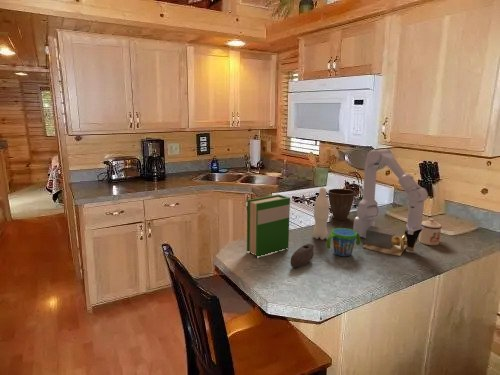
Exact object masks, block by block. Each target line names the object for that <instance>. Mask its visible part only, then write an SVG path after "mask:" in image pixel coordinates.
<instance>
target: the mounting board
mask: <svg viewBox="0 0 500 375" xmlns="http://www.w3.org/2000/svg"><path fill="white" fill-rule="evenodd" d="M406 246H407V245H405V248H404V250H403V249H401V245H400V246H396V245H393V247H392V248H391V249H390V250H389V249H385V248H380V247H376V246H371V245H367V244H364V245H363V246H362V248H363V249H367V250H371V251H375V252H379V253H380V252H381V253H384V254H389V255H393V256H396V257H397V256H398V257H400V256H402V254H403V253H404V252H405V250H406Z"/></svg>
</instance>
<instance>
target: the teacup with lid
mask: <svg viewBox="0 0 500 375" xmlns="http://www.w3.org/2000/svg"><path fill="white" fill-rule="evenodd" d="M421 226H423V227H424V229H422V231H421V232H420V233H419V236H418V241H419V243H421V244H424V245H427V246H437V245H439V244H440V238H441V231H442V228H443V227H442V224H440V223H439V222H437V221H435V219H434V218H429V220H422V225H421Z"/></svg>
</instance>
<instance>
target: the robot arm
mask: <svg viewBox="0 0 500 375" xmlns="http://www.w3.org/2000/svg"><path fill="white" fill-rule="evenodd" d="M366 156H367V157H366V160H365V163H364V171H363V172H364V173H363V188H362V190H363V192H362V199H361V200H360V202H358V204H357V208H356V217H354V220H353V228H352V230H354V231H355V232H357V233H358V234H359V236H360V238H365V239H366V231H367V229H368V228H369V227H370V226H374V227H375V221H376V220H375V219H376V216H378V215H379V206H378V205H379V204H378V201H376V200H375V199H376V198H375V197H376V183H377V182H376V181H377V169H378V168H379V167H380V166H386V167H388V168H389V170H391V172H392V173H393V174H394V175H395V176H396V178H398V184H399V185H400V187H402V190H404V191H405V193H406V194H407V195H406V198H407V200H408V211H407V212H408V213H407V220H406V224H405V226H406V228H407V229H406V230H404V235H406V241H407V244H408V247H411V248H413V247H414V244H415V241H416V242H417V241H418V239H419V235H420V232H421V231H422V229H424V227H423V226H421V225H422V222H423V217H424V216H423V215H424V208H425V207H424V206H425V201H427V199H428V198H429V193H428V190H427V189H426V188H425V187H422V186H421V185H420V184H418V183H417V181H416V180H415V179H414V178H415V177H414V176H413V175H411V174H408V173H406V172H405V171H404V170H403V168H402V166H401V165H400V164H399V162H398V161H397V160H396V157H395V154H394V153H393V151H392V150H391V149H389V148H384V149H383V148H381V149H372V150H370V151H369V152H367V155H366Z"/></svg>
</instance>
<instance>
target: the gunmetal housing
mask: <svg viewBox="0 0 500 375" xmlns="http://www.w3.org/2000/svg"><path fill="white" fill-rule="evenodd" d="M393 235H394V236H396V229H395V230H394V229H390V228H386V227H385V228H384V227H378V226H375V225H374V226H370V227H369V228H368V229H367V231H366V238H365V244H367V245H371V246H376V247H380V248H385V249H389V250H390V249H391V248H392V247H393V245H391V241H392V236H393ZM365 244H364V245H365Z"/></svg>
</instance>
